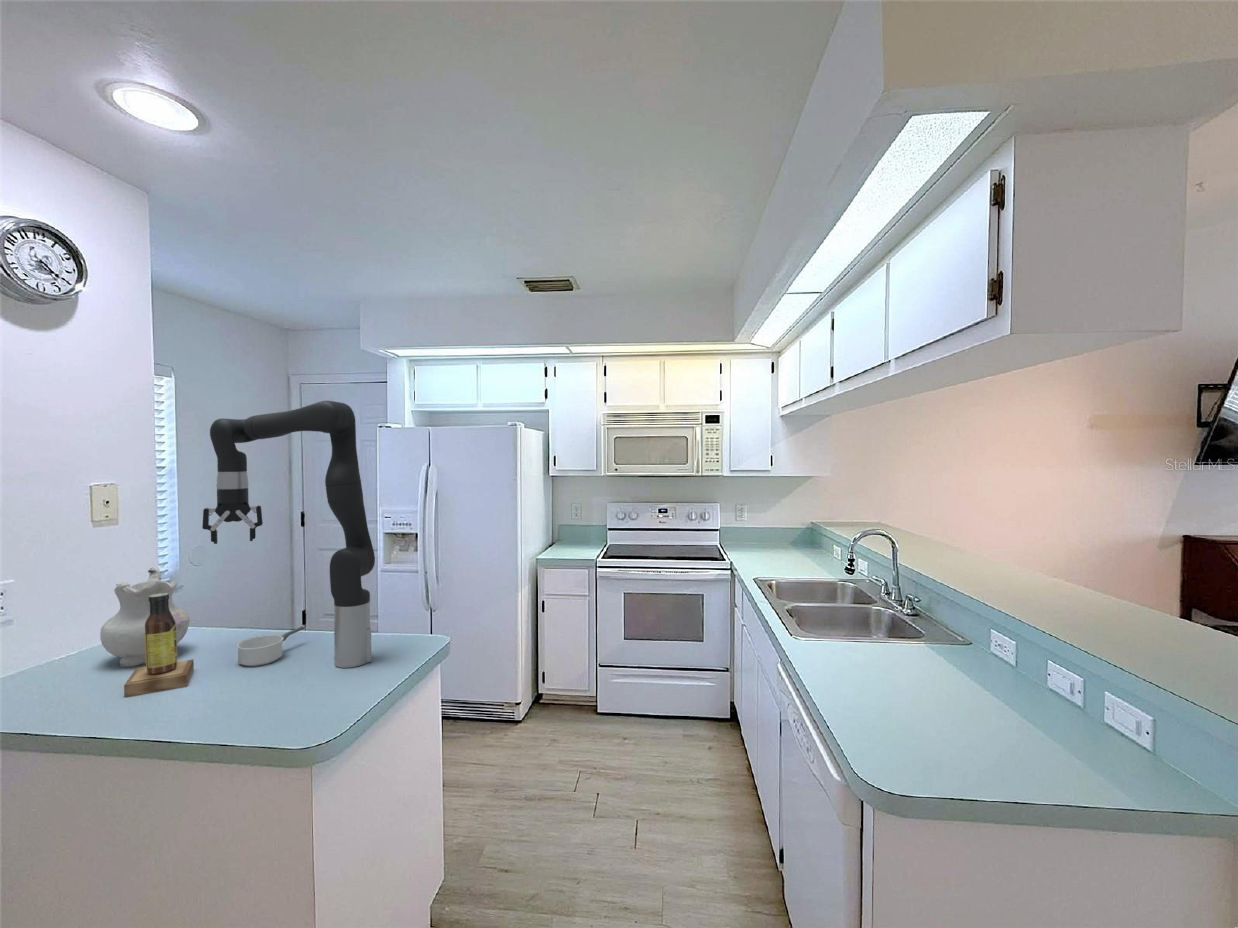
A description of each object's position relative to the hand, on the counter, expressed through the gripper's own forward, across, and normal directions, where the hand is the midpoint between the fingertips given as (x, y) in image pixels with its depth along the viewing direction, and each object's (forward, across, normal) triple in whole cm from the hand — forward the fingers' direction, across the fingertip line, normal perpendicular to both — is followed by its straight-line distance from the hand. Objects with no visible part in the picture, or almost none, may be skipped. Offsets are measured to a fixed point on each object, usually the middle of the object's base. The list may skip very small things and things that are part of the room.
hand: (233, 542), depth 158 cm
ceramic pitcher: (+34, +22, -13) cm, 42 cm away
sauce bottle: (+31, +15, +12) cm, 36 cm away
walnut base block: (+34, +15, +12) cm, 39 cm away
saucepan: (+34, -10, +5) cm, 36 cm away
